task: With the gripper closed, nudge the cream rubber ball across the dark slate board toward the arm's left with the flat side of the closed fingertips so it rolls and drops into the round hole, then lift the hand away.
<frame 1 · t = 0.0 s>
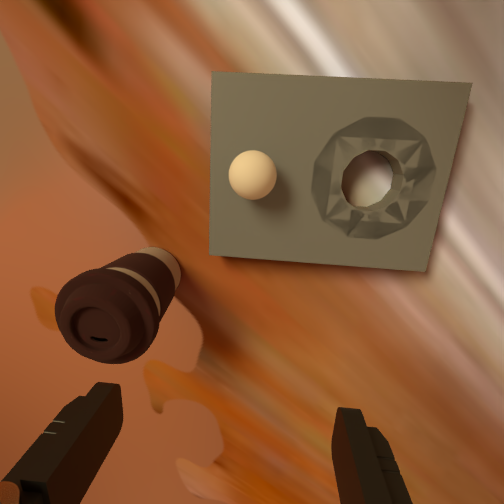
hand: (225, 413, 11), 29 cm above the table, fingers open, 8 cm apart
ball: (252, 175, 32), point 5 cm above the table, touching deck
deck: (322, 176, 36), on the table
coffee cup: (156, 270, 42), on the table
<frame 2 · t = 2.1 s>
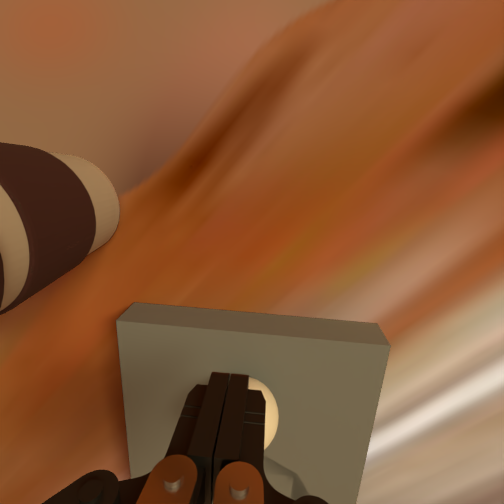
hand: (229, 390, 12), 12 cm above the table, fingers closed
ball: (242, 415, 21), point 5 cm above the table, touching deck
deck: (245, 434, 29), on the table
coffee cup: (78, 203, 23), on the table
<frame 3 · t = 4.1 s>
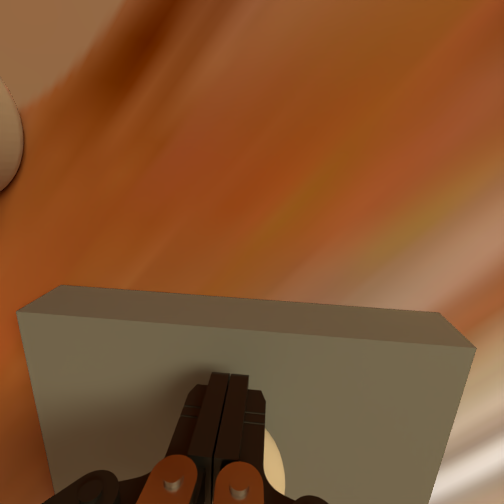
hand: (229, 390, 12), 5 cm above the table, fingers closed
ball: (223, 479, 12), point 5 cm above the table, tilted 10°, touching deck, gripper
deck: (236, 478, 20), on the table
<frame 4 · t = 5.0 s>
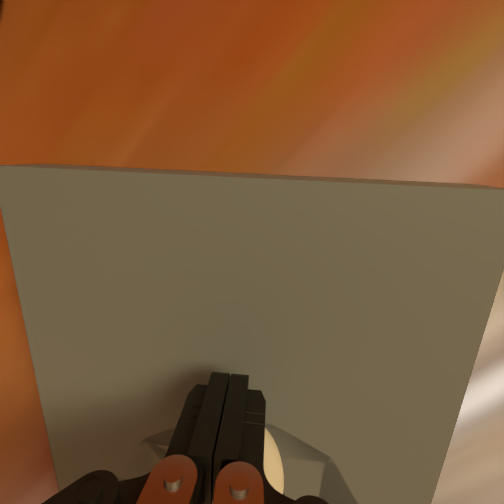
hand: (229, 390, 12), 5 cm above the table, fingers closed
ball: (222, 476, 12), point 5 cm above the table, tilted 113°, touching deck, gripper
deck: (242, 398, 18), on the table
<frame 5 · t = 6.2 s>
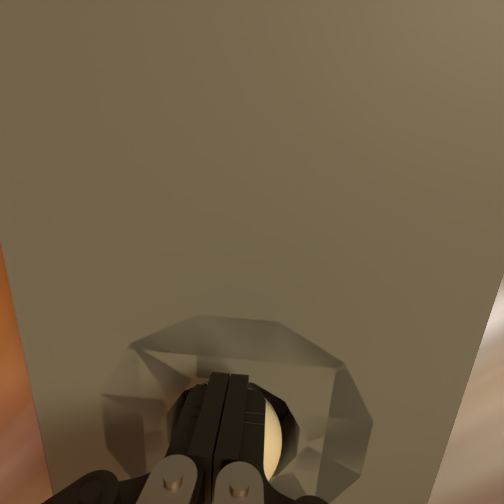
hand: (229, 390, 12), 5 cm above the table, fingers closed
ball: (233, 437, 15), point 2 cm above the table, tilted 45°
deck: (242, 314, 16), on the table
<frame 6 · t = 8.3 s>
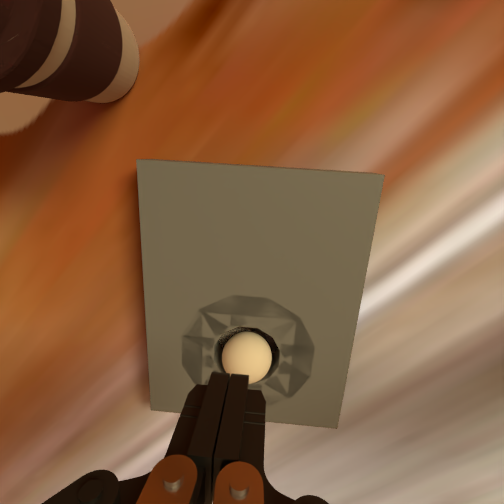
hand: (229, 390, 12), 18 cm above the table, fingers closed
ball: (246, 356, 30), point 2 cm above the table, tilted 51°
deck: (251, 296, 31), on the table
coffee cup: (100, 57, 25), on the table
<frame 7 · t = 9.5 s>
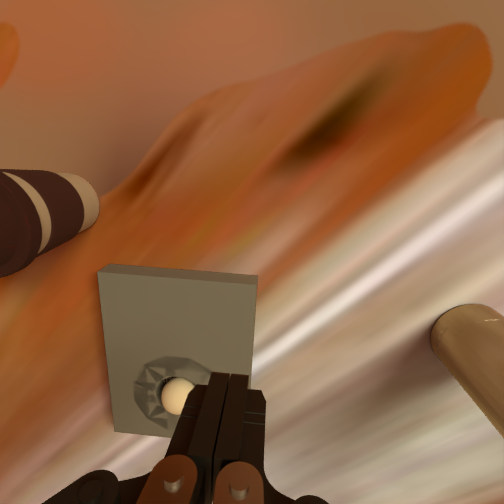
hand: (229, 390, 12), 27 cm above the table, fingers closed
ball: (179, 394, 43), point 2 cm above the table, tilted 54°
deck: (184, 352, 44), on the table
coffee cup: (74, 201, 39), on the table
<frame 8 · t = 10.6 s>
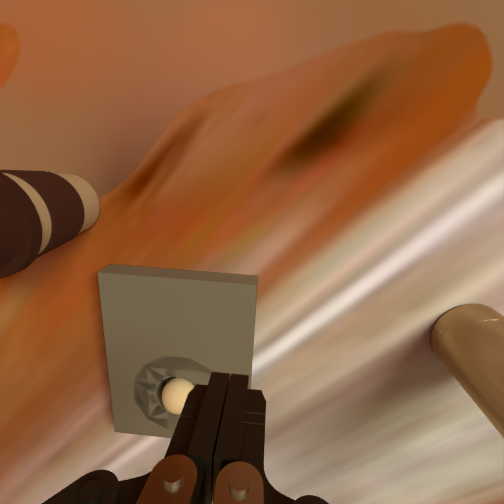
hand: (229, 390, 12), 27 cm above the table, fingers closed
ball: (179, 394, 43), point 2 cm above the table, tilted 57°
deck: (184, 352, 44), on the table
coffee cup: (74, 202, 39), on the table
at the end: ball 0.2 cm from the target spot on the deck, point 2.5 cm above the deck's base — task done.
